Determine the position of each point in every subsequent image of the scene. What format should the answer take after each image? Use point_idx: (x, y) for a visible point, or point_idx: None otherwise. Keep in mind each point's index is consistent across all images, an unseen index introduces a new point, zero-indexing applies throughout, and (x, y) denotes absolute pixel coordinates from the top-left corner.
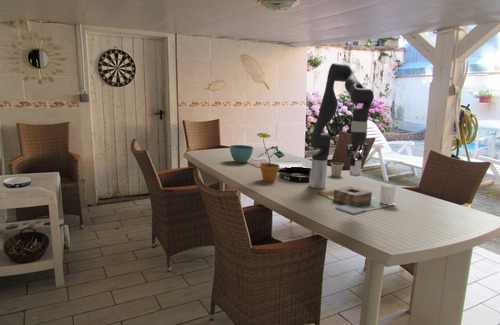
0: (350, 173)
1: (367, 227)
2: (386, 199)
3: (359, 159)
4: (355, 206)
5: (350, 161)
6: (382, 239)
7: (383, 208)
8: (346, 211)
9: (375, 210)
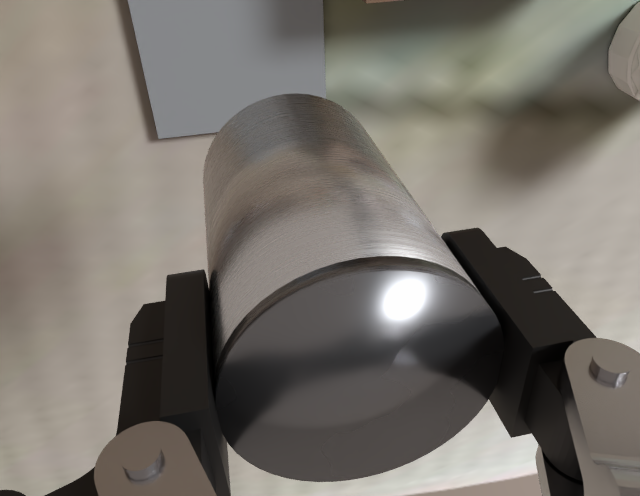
0: (208, 168)
1: (73, 330)
2: (636, 86)
3: (415, 422)
4: (322, 8)
5: (126, 374)
6: (33, 445)
7: (506, 122)
8: (142, 64)
9: (411, 129)
